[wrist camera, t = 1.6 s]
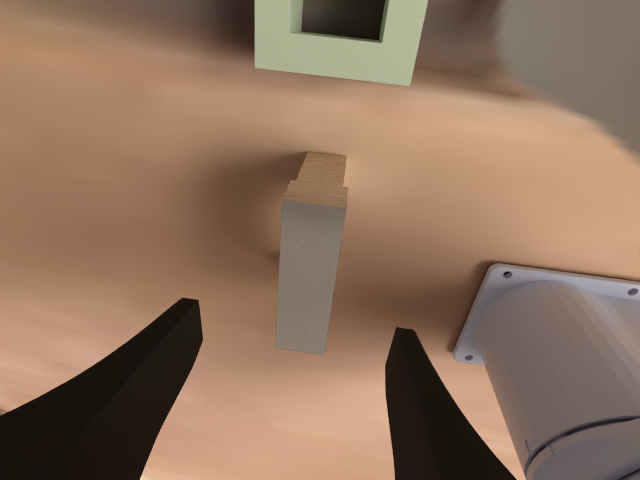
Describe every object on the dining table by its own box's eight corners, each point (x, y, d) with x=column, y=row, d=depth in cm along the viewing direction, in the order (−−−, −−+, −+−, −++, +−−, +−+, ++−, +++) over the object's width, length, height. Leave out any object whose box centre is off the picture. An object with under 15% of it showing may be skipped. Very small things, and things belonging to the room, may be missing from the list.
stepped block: (350, 156, 18) (346, 208, 13) (332, 279, 22) (324, 354, 17) (304, 151, 18) (282, 199, 13) (295, 274, 23) (275, 347, 17)
